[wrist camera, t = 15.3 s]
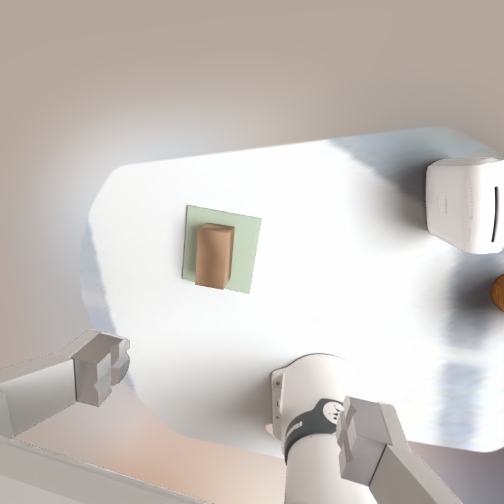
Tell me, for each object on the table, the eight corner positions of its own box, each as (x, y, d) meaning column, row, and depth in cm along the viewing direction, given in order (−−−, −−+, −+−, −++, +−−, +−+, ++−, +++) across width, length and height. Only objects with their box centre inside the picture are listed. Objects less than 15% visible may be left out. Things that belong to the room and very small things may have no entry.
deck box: (235, 226, 45) (227, 233, 41) (230, 278, 48) (223, 289, 43) (208, 222, 45) (198, 228, 41) (205, 273, 48) (195, 284, 44)
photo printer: (422, 161, 38) (473, 161, 26) (458, 155, 37) (528, 152, 25) (423, 235, 41) (470, 264, 29) (457, 231, 40) (519, 259, 28)
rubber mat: (249, 292, 48) (248, 293, 48) (183, 277, 50) (182, 279, 49) (261, 218, 44) (260, 219, 44) (189, 205, 46) (187, 205, 45)
